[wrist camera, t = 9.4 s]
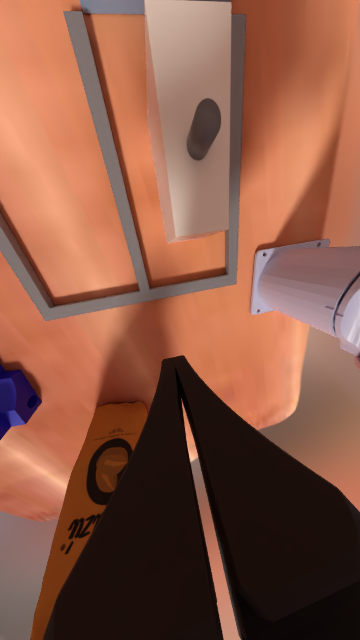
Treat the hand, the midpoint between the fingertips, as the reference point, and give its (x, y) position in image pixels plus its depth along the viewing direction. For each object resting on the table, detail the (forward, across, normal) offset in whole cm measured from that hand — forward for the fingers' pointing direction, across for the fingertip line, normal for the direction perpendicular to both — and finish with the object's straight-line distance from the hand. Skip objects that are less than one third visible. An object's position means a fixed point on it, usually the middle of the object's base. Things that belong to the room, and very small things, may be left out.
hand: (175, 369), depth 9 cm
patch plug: (+10, -3, -11) cm, 15 cm away
